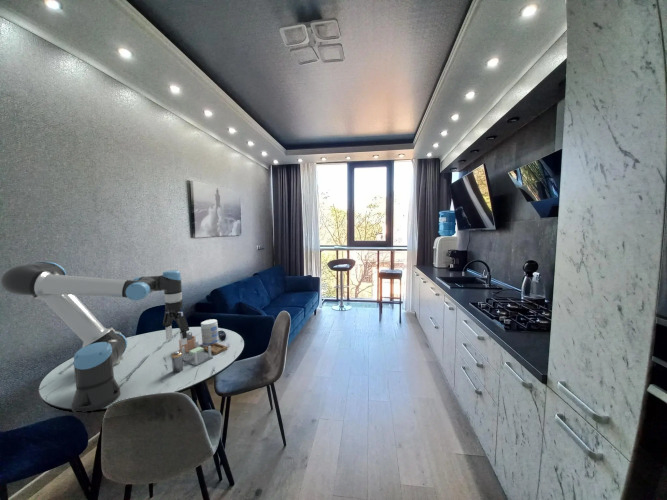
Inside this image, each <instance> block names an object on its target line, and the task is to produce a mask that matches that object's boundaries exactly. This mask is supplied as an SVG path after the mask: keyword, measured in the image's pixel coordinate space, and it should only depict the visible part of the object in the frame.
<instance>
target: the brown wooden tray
mask: <svg viewBox="0 0 667 500" xmlns="http://www.w3.org/2000/svg"><path fill="white" fill-rule="evenodd" d="M208 346H211V355H215V356H216V355H218V354H221V353H222V352H225V351H227V350H228V346H226V345H224V344H220V343H219V342H218V343H213V344H210V345H208ZM208 346H206V347H205V346H203V347H202V348H204V351H203V352H207V353H208Z"/></svg>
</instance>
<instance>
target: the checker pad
mask: <svg viewBox="0 0 667 500" xmlns="http://www.w3.org/2000/svg"><path fill="white" fill-rule="evenodd" d="M195 352H197V353H200V352H202V353H203V352H205V351H204V348H203V347H201V346H199V347H197V348H195V349H193V350H190V351H189V352H188V355H190V354H192V355H194V353H195Z"/></svg>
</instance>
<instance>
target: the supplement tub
mask: <svg viewBox="0 0 667 500" xmlns="http://www.w3.org/2000/svg"><path fill="white" fill-rule="evenodd" d="M200 328H201V329H200V331H201V341H202V342H201V343H202V346H203V347H206V346H208V345H210V344H213V343H218V344H219V342H220V340H219V325H218V320H217V319H214V318H213V319H211V318H210V319H206V320H204V321H201V322H200Z"/></svg>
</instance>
